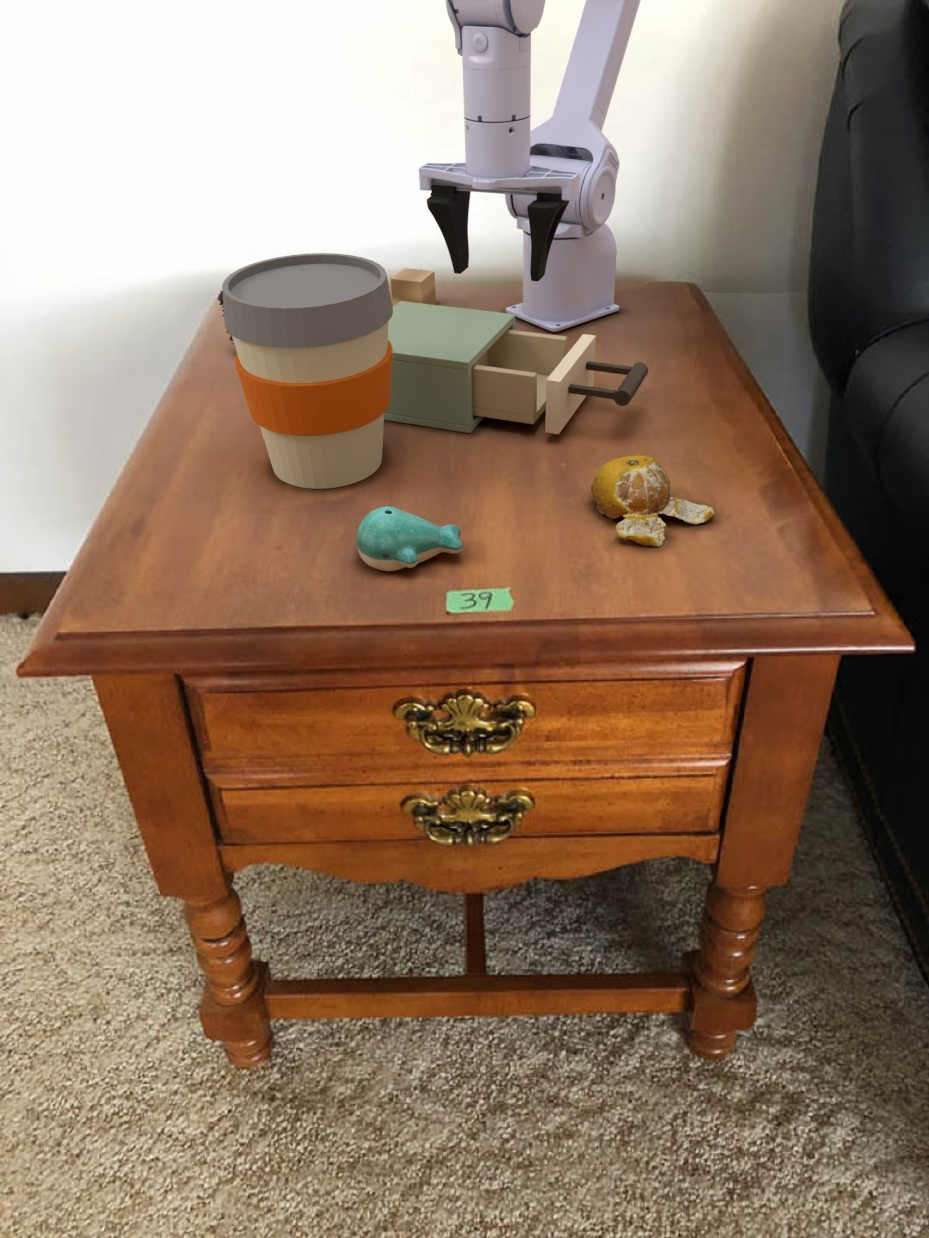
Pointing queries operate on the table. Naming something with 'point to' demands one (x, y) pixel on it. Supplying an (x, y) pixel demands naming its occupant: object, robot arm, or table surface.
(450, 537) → the whale figurine
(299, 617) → the table surface
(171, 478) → the table surface
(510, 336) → the drawer
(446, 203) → the robot arm
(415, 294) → the block
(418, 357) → the cabinet
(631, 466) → the fruit
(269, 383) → the reusable coffee cup
